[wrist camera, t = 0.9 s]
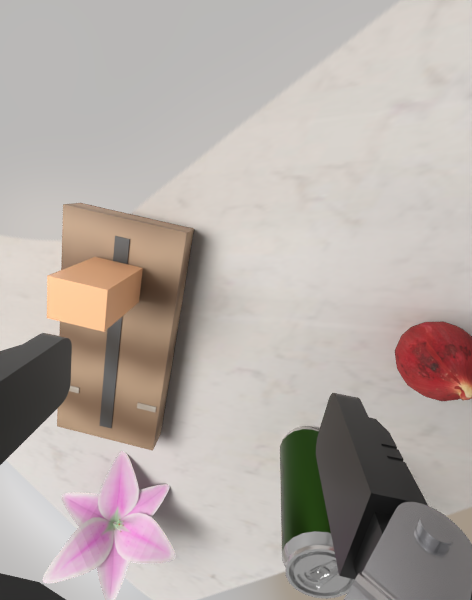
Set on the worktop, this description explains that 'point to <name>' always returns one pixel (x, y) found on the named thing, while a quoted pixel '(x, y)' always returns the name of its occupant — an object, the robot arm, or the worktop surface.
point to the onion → (436, 360)
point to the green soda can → (307, 520)
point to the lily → (112, 530)
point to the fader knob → (93, 293)
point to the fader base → (125, 326)
